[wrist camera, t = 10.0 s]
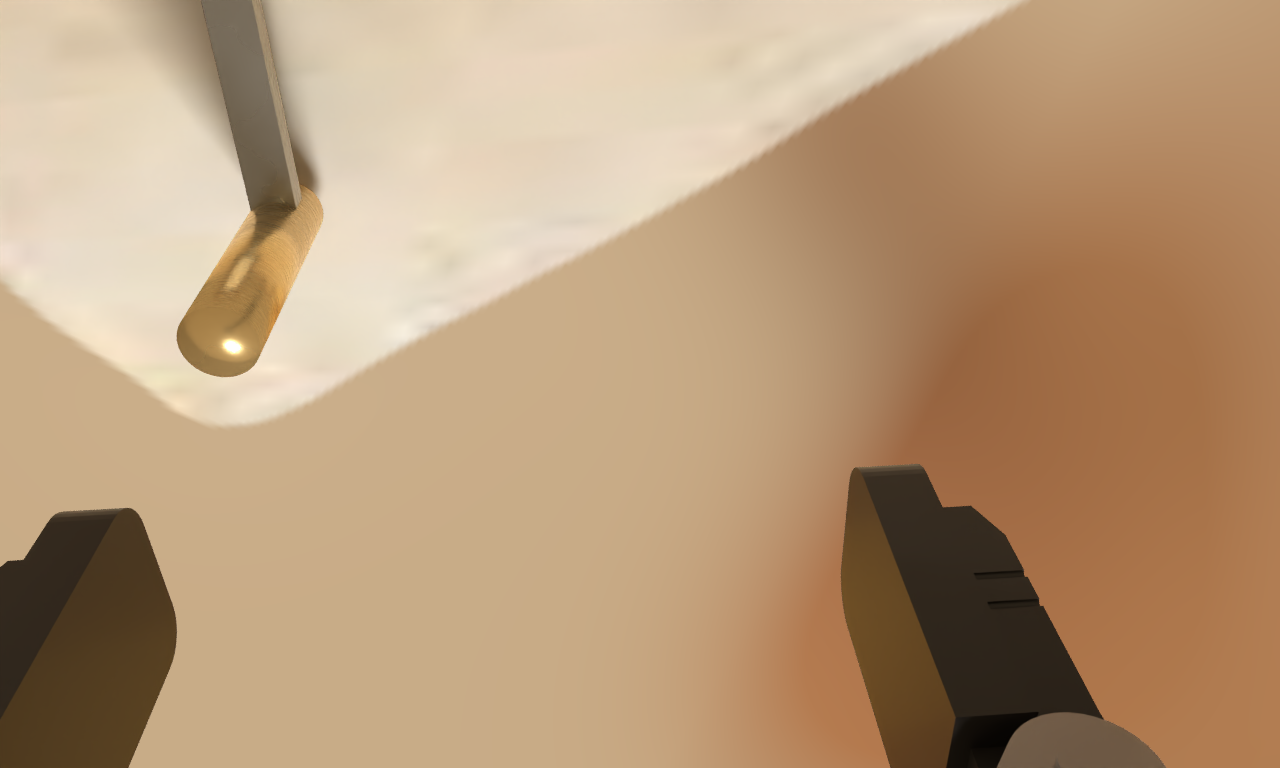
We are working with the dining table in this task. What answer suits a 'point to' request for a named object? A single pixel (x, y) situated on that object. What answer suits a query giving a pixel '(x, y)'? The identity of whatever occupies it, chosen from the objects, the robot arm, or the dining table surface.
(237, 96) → the lever handle
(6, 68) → the dining table surface
